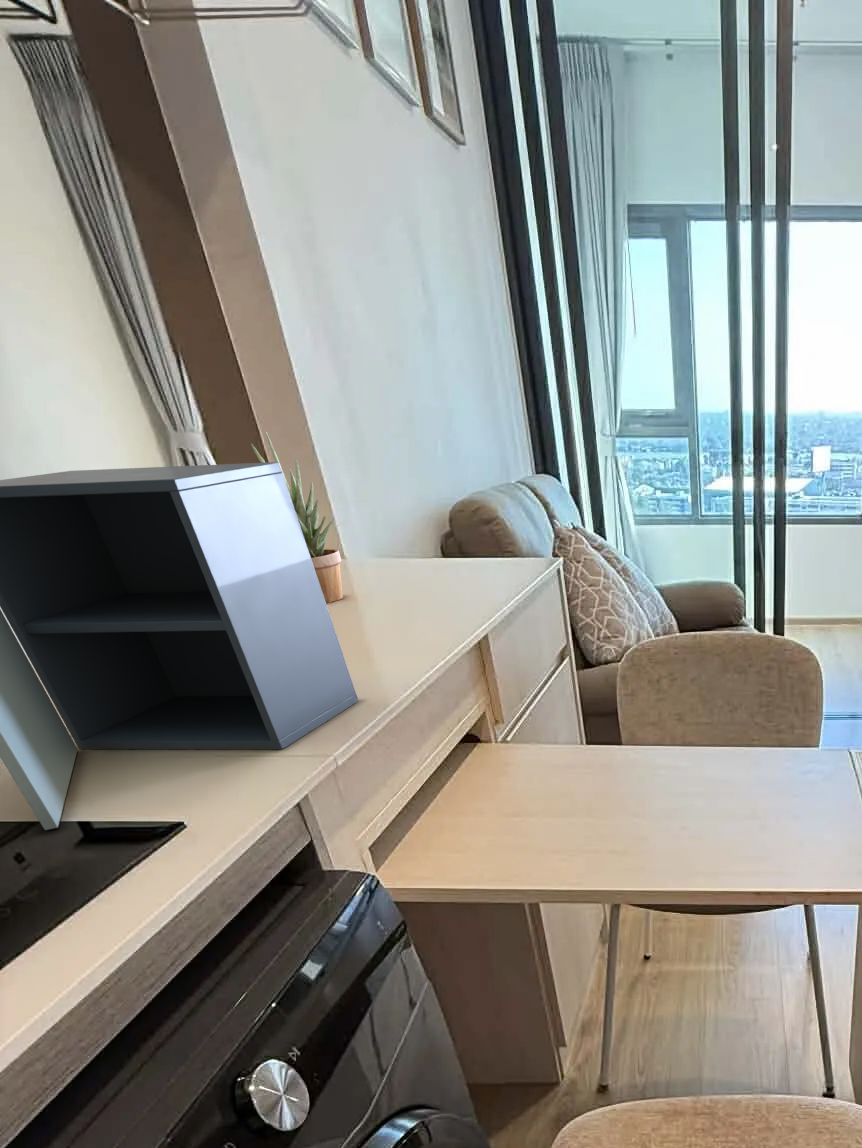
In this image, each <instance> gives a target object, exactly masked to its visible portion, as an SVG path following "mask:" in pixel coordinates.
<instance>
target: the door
mask: <svg viewBox="0 0 862 1148" xmlns="http://www.w3.org/2000/svg"><path fill="white" fill-rule="evenodd" d="M77 753H78V747H77V745H76V743H75V741H74V739H73V738H72V736H71V734H70V732H69V730H68V729H67V727H66V725H65V723H64V721H63V719H62V718H61V716H60V714H59V712H58V710H57V709H56V707H55V705H54V703H53V701H52V700H51V698H50V696H49V694H48V692H47V691H46V689H45V687H44V685H43V683H42V681H41V680H40V678H39V676H38V674H37V672H36V671H35V669H34V667H33V665H32V663H31V662H30V660H29V658H28V656H27V654H26V653H25V651H24V649H23V647H22V645H21V643H20V642H19V640H18V638H17V636H16V634H15V633H14V631H13V629H12V627H11V625H10V624H9V622H8V620H7V618H6V616H5V615H4V613H3V611H2V609H0V760H1V761H2V763H3V764H4V767H5V768H6V769H7V771H8V773H9V774H10V776H11V778H12V779H13V781H14V783H15V784H16V785H17V788H18V789H19V791H20V792H21V794H22V796H23V797H24V799H25V800H26V802H27V804H28V805H29V807H30V809H31V810H32V812H33V813H34V815H35V816H36V818H37V820H38V822H39V823H40V825H41V826H42V829H43V830H44V831H48V830H53V829H58V828H59V826H60V821H61V818H62V813H63V809H64V805H65V802H66V797H67V793H68V788H69V786H70V781H71V777H72V774H73V769H74V766H75V765H74V764H75V761H76V757H77Z"/></svg>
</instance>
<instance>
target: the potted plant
mask: <svg viewBox="0 0 862 1148" xmlns="http://www.w3.org/2000/svg"><path fill="white" fill-rule="evenodd" d="M265 435H266V438H267V442H268V444H269V447H270V450H271V455H272V456H273V459H274V462H279V465H280V468H281V471H282V472H281V473H283V476H284V479H285V482H286V485H287V488H288V491H289V494H290V497H291V500H292V503H293V506H294V509H295V512H296V515H297V518H298V521H299V524H300V527H301V530H302V533H303V536H304V539H305V542H306V545H307V548H308V551H309V554H310V557H311V560H312V563H313V566H314V569H315V572H316V575H317V578H318V581H319V584H320V587H321V590H322V593H323V596H324V599H325V602H326V604H328V603H333V602H336V601H340V600H341V599H343V597H344V595H343V586H342V576H341V562H342V556H341V554H340V551H339V549H336V548H325V546H326V540H327V536H328V535H329V534H328V533H329V530H330V528H331V526H332V523H333V522H332V521H330V522H329V523H328V524H327V526H326V527H325V528H324V529H323V526H324V524H325V521H326V518H327V517H326V516H325V515H324V516H323V517H322V519H321V521H320V524H319V512H318V508H319V500H318V499H316V501H315V504H314V489H315V488H314V483H313V481H312V482H311V483H310V489H309V495H308V498H307V501H306V502H304V495H303V485H302V479H301V472H300V466H299V462H298V458H296V457H295V476H294V473H293V472H292V469H291V468H290V469H289V476H290V485H289V482H288V480H287V477H286V475H285V472H284V470H283V468H282V465H281V462H280V460H279V457H278V455H277V453H276V451H275V448H274V445H273V443H272V441H271V438H270V436H269V433H268V431H265ZM251 447H252V450H253V452H254V454H255V455H256V457H257V459H258V460H259V463H266V461H265V459H264V458H263V457H262V456H261V454H260V453H259V451H258V450H257V448H256V447H255V446H254V444H251ZM290 486H291V487H290ZM318 524H319V525H318ZM322 529H323V531H322ZM321 531H322V532H321Z"/></svg>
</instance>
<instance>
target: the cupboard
mask: <svg viewBox="0 0 862 1148" xmlns="http://www.w3.org/2000/svg"><path fill="white" fill-rule="evenodd" d="M279 462H280V461H279ZM279 462H275V461H272V462H271V461H270V462H269V461H267V462H265V463H261V462H248V463H247V462H245V463H223V464H222V463H221V464H201V465H199V464H198V465H197V464H196V465H175V466H173V465H172V466H155V467H154V466H153V467H152V466H151V467H150V466H149V467H129V468H128V467H127V468H106V469H86V470H85V469H83V470H81V469H80V470H66V471H59V472H52V473H44V474H36V475H28V476H21V477H13V478H12V477H11V478H6V479H5V478H4V479H0V610H1V611H2V613H3V615H4V617H5V619H6V620H7V622H8V624H9V626H10V628H11V629H12V631H13V633H14V635H15V637H16V639H17V640H18V642H19V644H20V646H21V648H22V649H23V651H24V653H25V655H26V657H27V658H28V660H29V662H30V664H31V666H32V667H33V669H34V671H35V673H36V675H37V676H38V678H39V680H40V682H41V684H42V685H43V687H44V689H45V691H46V693H47V695H48V696H49V698H50V700H51V702H52V704H53V705H54V707H55V709H56V711H57V713H58V714H59V716H60V718H61V720H62V722H63V723H64V725H65V727H66V729H67V731H68V732H69V734H70V736H71V738H72V740H73V742H74V743H75V745H76V747H77V749H78V750H284V749H285V748H287V747H289V746H290V745H291V744H293V743H294V742H296V741H298V740H299V739H301V738H303V737H304V736H306V735H308V734H309V733H311V732H312V731H314V730H315V729H317V728H319V727H320V726H322V725H324V724H325V723H326V722H328V721H330V720H331V719H333V718H334V717H336V716H338V715H339V714H340V713H342V712H344V711H345V710H347V709H349V708H350V707H352V706H353V705H356V703H358V702H359V698H358V695H357V692H356V688H355V686H354V683H353V680H352V677H351V674H350V671H349V668H348V665H347V662H346V659H345V656H344V653H343V650H342V646H341V644H340V641H339V638H338V635H337V633H336V629H335V627H334V624H333V620H332V617H331V614H330V611H329V608H328V604H327V603H326V602H325V599H324V596H323V593H322V590H321V587H320V584H319V581H318V578H317V575H316V572H315V569H314V566H313V563H312V560H311V557H310V554H309V551H308V548H307V545H306V542H305V539H304V536H303V533H302V530H301V527H300V524H299V521H298V518H297V515H296V512H295V509H294V506H293V503H292V500H291V497H290V494H289V491H288V488H287V485H286V482H285V479H284V476H283V473H284V472H283V473H281V472H282V471H281V468H282V467H281V468H280V465H281V464H280V465H279Z"/></svg>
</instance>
